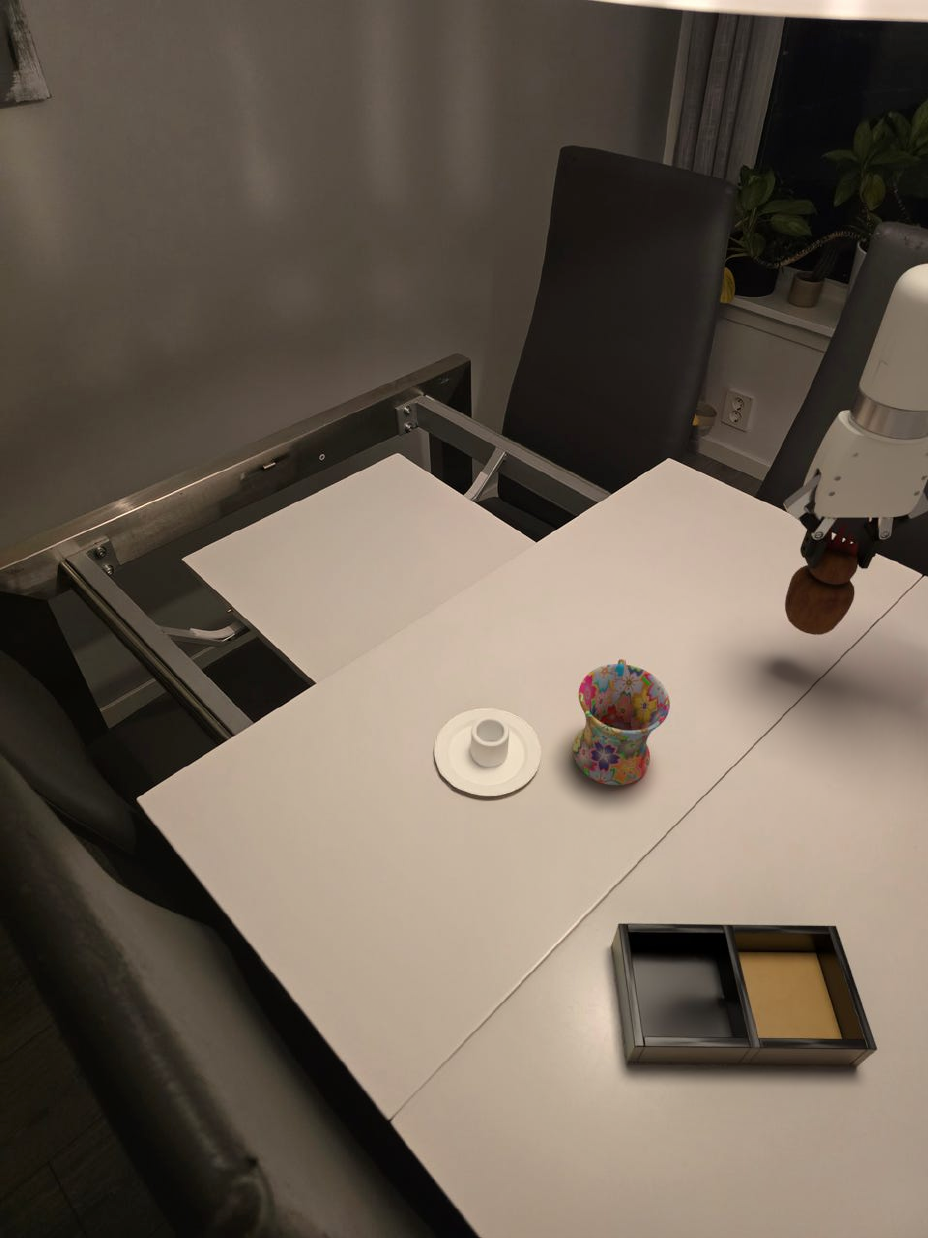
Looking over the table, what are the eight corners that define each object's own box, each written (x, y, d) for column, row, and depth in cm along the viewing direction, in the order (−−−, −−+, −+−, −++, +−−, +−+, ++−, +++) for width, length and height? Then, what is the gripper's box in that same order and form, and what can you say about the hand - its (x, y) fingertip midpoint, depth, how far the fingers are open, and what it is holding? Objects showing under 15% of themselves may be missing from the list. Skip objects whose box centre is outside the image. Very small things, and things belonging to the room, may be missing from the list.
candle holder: (434, 801, 84) (433, 778, 81) (433, 713, 92) (433, 689, 89) (546, 798, 84) (549, 775, 81) (535, 710, 93) (537, 687, 90)
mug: (652, 798, 84) (671, 738, 77) (566, 786, 85) (576, 726, 78) (651, 711, 93) (667, 650, 85) (572, 702, 94) (582, 640, 86)
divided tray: (819, 947, 73) (836, 925, 70) (857, 1067, 66) (877, 1049, 62) (611, 944, 73) (618, 923, 70) (626, 1064, 66) (634, 1046, 63)
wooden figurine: (769, 621, 92) (806, 519, 82) (793, 598, 95) (831, 495, 85) (823, 650, 89) (869, 547, 78) (846, 625, 92) (894, 522, 81)
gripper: (969, 388, 75) (898, 538, 88) (791, 390, 75) (746, 539, 88) (1007, 429, 70) (926, 583, 82) (816, 431, 70) (764, 584, 83)
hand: (834, 559), depth 85 cm, fingers closed on wooden figurine, 4 cm apart
